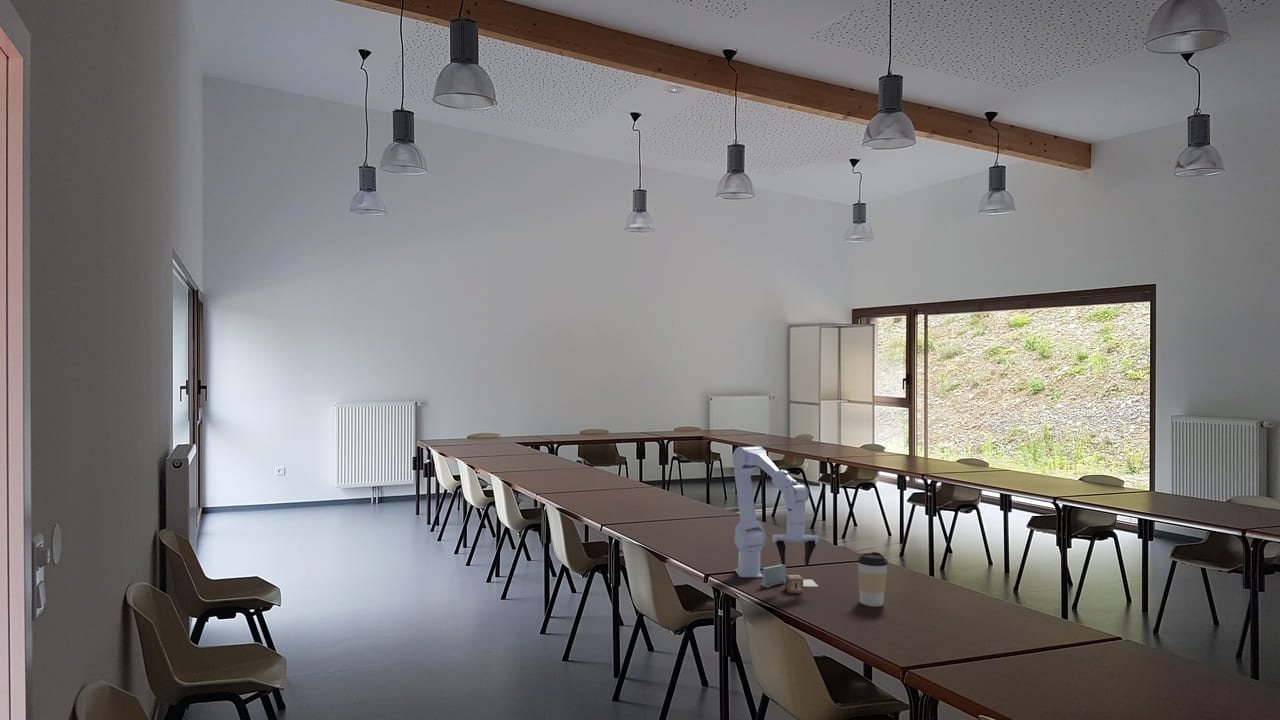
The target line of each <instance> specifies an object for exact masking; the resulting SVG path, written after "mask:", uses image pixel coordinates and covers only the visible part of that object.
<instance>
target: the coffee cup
mask: <svg viewBox="0 0 1280 720" xmlns="http://www.w3.org/2000/svg"><path fill="white" fill-rule="evenodd" d="M888 561H889V560H888V559H886V558H885V556H884V555H882V554H881V553H879V552H875V551H872V552H866V553H865V552H864V553H862V554H861V555H860V556H858V557H857V561H856V562H857V565H858V566H857V567H858V569H857V575H858V577H857V578H858V589H859V603H860V604H862V605H864V606H868V607H881V606H883V605H884V601H885V600H884V599H885V592H886V583H887V575H888V574H887V573H888V571H887V569H888V568H887V566H888V564H889V563H888Z"/></svg>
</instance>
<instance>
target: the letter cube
mask: <svg viewBox="0 0 1280 720" xmlns="http://www.w3.org/2000/svg"><path fill="white" fill-rule="evenodd" d="M803 579H804V578H803V576H802V575H801V574H786V584H785V590H786V591H787V593H788V592H789V593H790V594H802V593H803V592H804V587H803ZM789 593H788V594H789ZM803 594H804V593H803Z"/></svg>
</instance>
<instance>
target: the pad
mask: <svg viewBox="0 0 1280 720" xmlns="http://www.w3.org/2000/svg"><path fill="white" fill-rule="evenodd" d="M803 588H819V585H818V584H817V583H816V582H815V581H814V580H813V579H804V578H803Z"/></svg>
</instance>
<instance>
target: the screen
mask: <svg viewBox="0 0 1280 720" xmlns="http://www.w3.org/2000/svg"><path fill="white" fill-rule="evenodd" d="M786 572H787V564H785V565H782V564H781V563H780V564H776V565H773V566H767V567H763V568H762V575H763V577H762V581H761V583H760V586H761V587H762V586H763V587H762V588H766V587H767V588H766V589H768V588H769V589H770V588H772V587H774V586H777V584H778V585H782V584H783V585H786V575H787V573H786Z"/></svg>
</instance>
